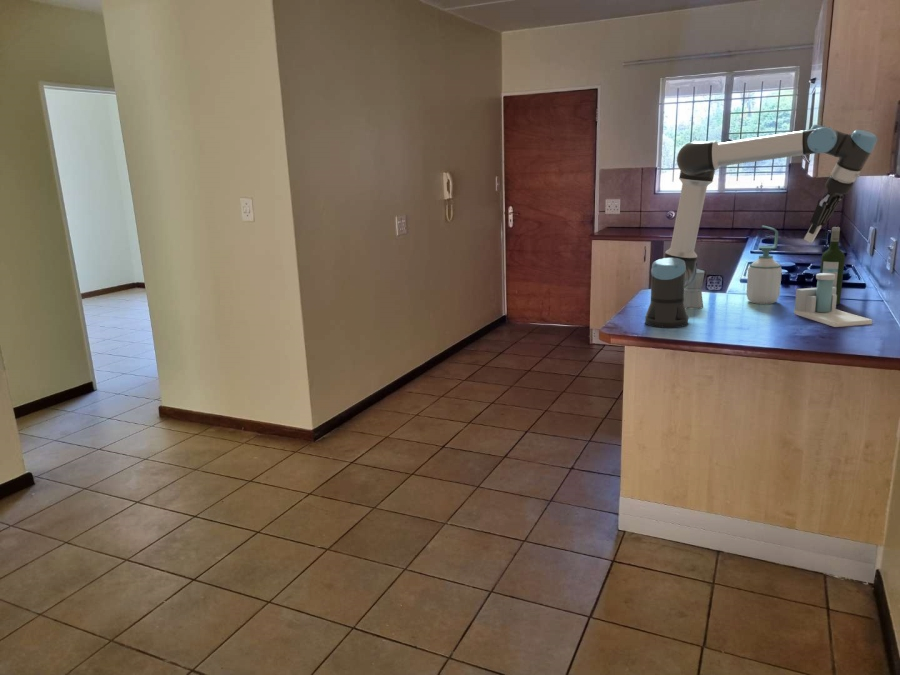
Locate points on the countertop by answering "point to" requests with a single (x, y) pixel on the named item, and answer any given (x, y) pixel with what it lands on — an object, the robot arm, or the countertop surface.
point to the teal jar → (824, 291)
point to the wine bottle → (834, 262)
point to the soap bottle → (764, 276)
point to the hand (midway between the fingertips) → (808, 240)
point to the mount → (834, 318)
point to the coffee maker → (695, 291)
